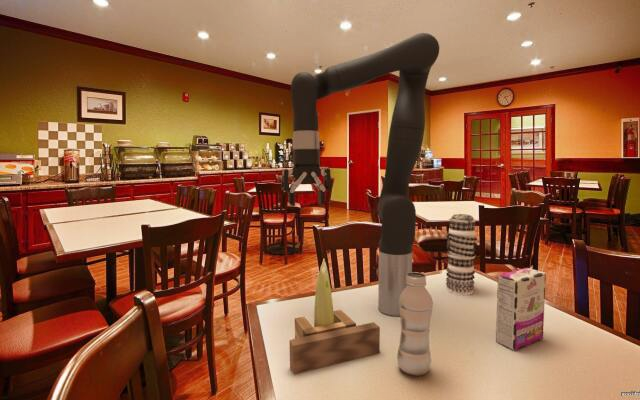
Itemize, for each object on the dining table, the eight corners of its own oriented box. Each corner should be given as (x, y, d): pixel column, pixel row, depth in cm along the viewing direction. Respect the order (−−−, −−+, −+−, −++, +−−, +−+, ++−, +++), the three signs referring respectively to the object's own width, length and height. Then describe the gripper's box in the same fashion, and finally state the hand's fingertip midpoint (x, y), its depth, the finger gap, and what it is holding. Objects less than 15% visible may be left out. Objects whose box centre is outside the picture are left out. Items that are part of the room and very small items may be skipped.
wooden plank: (373, 347, 79) (373, 322, 78) (379, 352, 76) (379, 327, 76) (290, 367, 71) (289, 339, 71) (293, 374, 69) (293, 345, 68)
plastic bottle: (392, 362, 73) (394, 270, 71) (423, 360, 73) (426, 269, 71) (402, 381, 66) (404, 281, 64) (436, 379, 67) (439, 279, 65)
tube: (341, 345, 79) (338, 263, 77) (323, 353, 76) (320, 267, 74) (327, 336, 84) (324, 257, 82) (309, 342, 81) (306, 261, 79)
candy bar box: (522, 330, 86) (526, 266, 84) (543, 339, 81) (547, 272, 80) (493, 341, 81) (496, 274, 79) (514, 352, 76) (518, 280, 74)
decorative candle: (439, 286, 116) (441, 213, 113) (462, 284, 118) (465, 212, 115) (455, 297, 107) (458, 218, 104) (481, 294, 109) (484, 216, 107)
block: (340, 332, 85) (340, 309, 85) (356, 348, 78) (356, 323, 77) (295, 342, 81) (294, 318, 80) (306, 360, 74) (306, 333, 73)
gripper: (285, 147, 90) (286, 208, 92) (334, 147, 96) (335, 205, 97) (278, 148, 97) (279, 205, 99) (324, 148, 103) (324, 202, 104)
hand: (306, 205), depth 98 cm, fingers open, 8 cm apart
